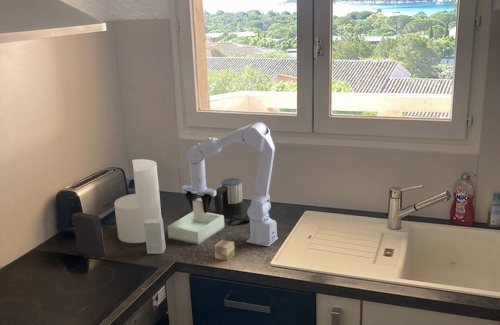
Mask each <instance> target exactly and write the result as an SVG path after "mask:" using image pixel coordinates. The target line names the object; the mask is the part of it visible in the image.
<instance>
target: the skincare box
mask: <svg viewBox="0 0 500 325" xmlns="http://www.w3.org/2000/svg"><path fill="white" fill-rule="evenodd" d="M164 228H165V227H164V219H163V218H162V219H147V220H146V221H145V222H144V229H145V238H146V242H145V246H146V254H150V255H151V254H152V255H153V254H154V255H155V254H158V255H159V254H160V255H161V254H162V255H163V254H164V253H165V251H166V249H167V248H166V246H167V245H166V238H165V229H164Z"/></svg>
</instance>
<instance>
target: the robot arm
mask: <svg viewBox="0 0 500 325" xmlns="http://www.w3.org/2000/svg"><path fill="white" fill-rule="evenodd" d="M237 141H239V142H241V143H246V144H247V145H248V146H250V147H252V148H253V149H255V150H256V151H257V152H258V153H259V157H258V165H257V171H256V178H255V186H254V192H253V195H252V199H251V201H250V205H249V206H248V208H247V211H246V213H247V214H246V215H248V217H249V218H250V220H249V227H250V228H249V230H250V237H249V238H248V239H247V240H246V243H249V244H254V245H258V246H264V247H270V246H271V245H272V244H273V243H275V242H276V241H277V240H278V239H279V237H278V227H277V226H278V223H277V221H276V220H274V219H272V218H271V217H270V214H269V212H270V211H271V208H272V205H271V201H270V198H271V195H270V194H269V191H270V185H271V184H270V183H271V179H272V178H271V177H272V171H273V164H274V160H275V159H274V157H275V151H276V147H275V144H274V142H273V138H272V137H271V130H270V129H269V127H267V125H266V124H265V123H263V122H261V121H257V122H256V121H255V122H254V123H253V124H248V125H244V126H242V127H240V128H238V129H235V130H233V131H232V132H230V133H227V134H226V135H224V136H221V137H220V138H217V137H210V136H209V137H208V138H206V140H205V141H203V142H201V143H200V142H198V143H196V145H194V146H192V147H191V148H189V149H188V150H187V151H186V154H185V157H186V160H187V161H188V163H189V177H190V178H189V179H190V185H186V184H185V185H182V186H181V192H183V193H185V192H186V193H185V194H184V197H185V198H186V199H187V201H188V203H189V205H190V208H191V212H193V200H194V199H197V198H198V197H197V196H198V194H200V195H202V196H200V198H201V199H202V202H203V208H204V213H210V207H211V206H210V205H211V202H212V199H214V196H216V195H217V194H216V189H213V188H211V187H207V178H206V177H207V176H206V166H205V164H206V163H205V160H206V159H207V158H209V157H211V156H213V155H216V154H218V153H220V152H221V151H222V148H223V147H225V146H227V145H230V144H232V143H234V142H237Z"/></svg>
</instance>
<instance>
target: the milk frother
mask: <svg viewBox="0 0 500 325" xmlns="http://www.w3.org/2000/svg"><path fill="white" fill-rule="evenodd" d="M220 184H221V186H220V187H217V189H215V190H216V194H217V195H216V196H214V197H213V199H214V200H213V201H214V207H215V214H219V215H224V218H228V219H239V220H242V221H244V222H250V218H249V217H248V214H245V212H244V204H243V202H244V201H243V179H241V178H238V177H228V178H224V179H221V180H220ZM244 214H245V215H244Z"/></svg>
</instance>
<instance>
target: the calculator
mask: <svg viewBox="0 0 500 325" xmlns="http://www.w3.org/2000/svg"><path fill="white" fill-rule="evenodd" d="M70 217H71V224H72V225H73V228H74V235H75V242H76V250H77V253H78V254H82V255H86V256H91V257H93V258H98V259H99V258H101V257H103V256H105V253H106V251H105V243H104V236H103V229H102V222H101V217H100V216H99V215H94V214H90V213H85V212H81V211H78V212H75V213H72V214H71V215H70Z"/></svg>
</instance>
